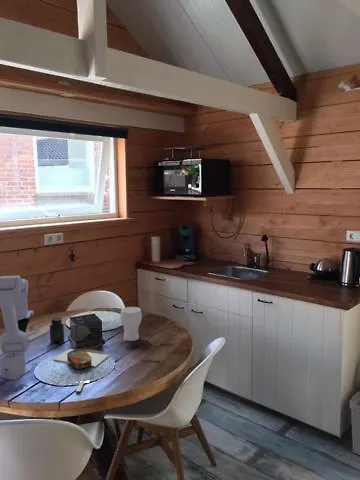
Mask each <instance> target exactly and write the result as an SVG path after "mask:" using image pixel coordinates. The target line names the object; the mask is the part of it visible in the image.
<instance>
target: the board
mask: <svg viewBox="0 0 360 480" xmlns="http://www.w3.org/2000/svg"><path fill="white" fill-rule="evenodd" d="M73 350H74V349H73V348H69V349H67V350H65V351H64V352H62V353H61V354H60V355H58V356H56V357H54V358H53V361H56V362H59V361H60V363H65V362H69V361H68V359H67V353H68V352H70V351H73ZM86 352H87V353H88V355H89V356H90V357H91V358H92V359H91V365H90V366H94V367H95V368H97V367H98V366H99V365H101V362H102V361H103V362H105V361H106V360H107V359H108V358H109V357H110V355H109V354H102V353H96V352H89V351H86ZM106 358H107V359H106ZM103 362H102V363H103ZM98 364H99V365H98ZM97 365H98V366H97ZM96 366H97V367H96ZM94 367H93V368H94Z"/></svg>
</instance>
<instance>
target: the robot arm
mask: <svg viewBox="0 0 360 480" xmlns="http://www.w3.org/2000/svg"><path fill="white" fill-rule="evenodd" d="M28 294H29V281H28V279H27V280H26V278H22V277H21V276H20V275H3V276H0V310H1V313H2V314H1V315H2V319H3V323H4V324H3V325H4V329H5V332H4V333H3V334H2V335H1V337H0V350H1V352H2V353H3V354H4V357H3V358H2V359H1V360H0V378H3V379H9V380H12V381H16V380H17V379H19V378H21V377H22V376H24V375H25V374H27V373H29V372H30V371H31V369H30V368H26V353H25V352H27V351H28V349H29V337H28V336H27V333H26V332H27V327H28V324H29V322H30V320H31V319H30V318H31V316H34V314H35V312H34V310H29V307H28V306H29V305H28Z"/></svg>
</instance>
